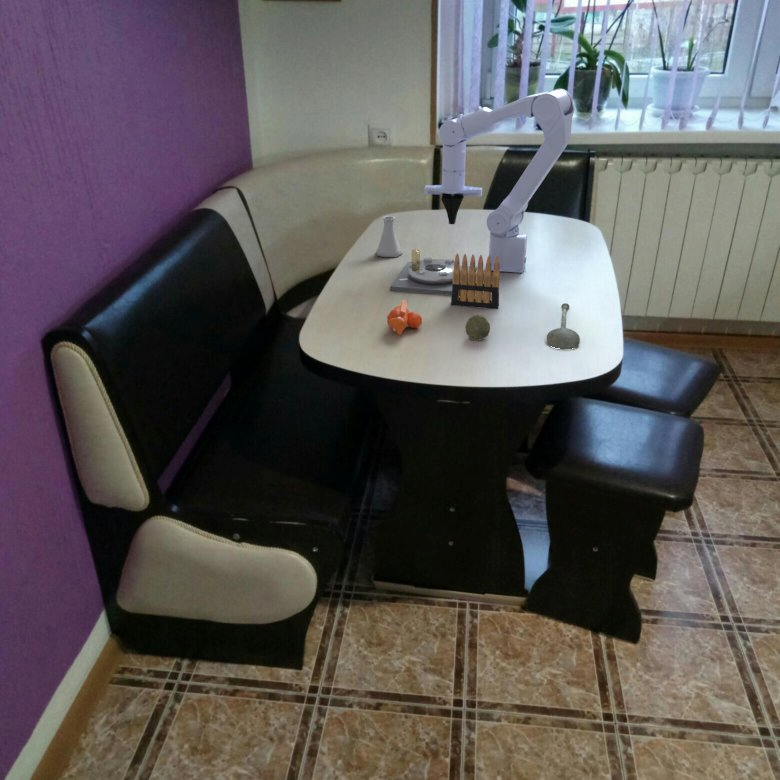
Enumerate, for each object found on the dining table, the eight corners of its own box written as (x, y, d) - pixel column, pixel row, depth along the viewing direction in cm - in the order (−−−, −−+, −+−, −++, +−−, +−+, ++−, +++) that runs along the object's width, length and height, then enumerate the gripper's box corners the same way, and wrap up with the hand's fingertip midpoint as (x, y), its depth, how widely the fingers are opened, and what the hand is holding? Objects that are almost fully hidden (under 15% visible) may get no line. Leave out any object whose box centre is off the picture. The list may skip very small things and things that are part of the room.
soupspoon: (544, 353, 145) (577, 358, 144) (546, 338, 143) (580, 342, 142) (550, 307, 163) (580, 311, 162) (552, 294, 162) (582, 297, 160)
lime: (492, 340, 148) (493, 317, 146) (471, 344, 147) (472, 321, 144) (482, 332, 152) (483, 309, 149) (461, 335, 150) (462, 313, 148)
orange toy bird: (394, 291, 157) (389, 313, 147) (427, 302, 158) (423, 325, 147) (387, 311, 160) (381, 334, 149) (419, 322, 160) (415, 346, 150)
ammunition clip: (450, 305, 165) (452, 254, 159) (452, 302, 166) (453, 251, 160) (498, 309, 162) (501, 257, 157) (499, 306, 164) (502, 254, 158)
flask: (399, 259, 193) (399, 221, 188) (373, 257, 194) (372, 220, 189) (404, 250, 199) (404, 214, 194) (379, 249, 201) (378, 213, 196)
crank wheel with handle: (450, 263, 185) (451, 238, 182) (469, 280, 174) (470, 254, 171) (401, 269, 182) (401, 243, 179) (418, 287, 171) (418, 259, 168)
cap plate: (476, 270, 184) (476, 266, 184) (465, 296, 169) (465, 291, 169) (407, 265, 188) (407, 261, 188) (390, 290, 173) (390, 285, 173)
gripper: (422, 171, 180) (421, 225, 187) (480, 174, 177) (477, 229, 183) (427, 165, 186) (427, 218, 193) (484, 168, 183) (481, 221, 189)
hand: (452, 223), depth 188 cm, fingers closed
